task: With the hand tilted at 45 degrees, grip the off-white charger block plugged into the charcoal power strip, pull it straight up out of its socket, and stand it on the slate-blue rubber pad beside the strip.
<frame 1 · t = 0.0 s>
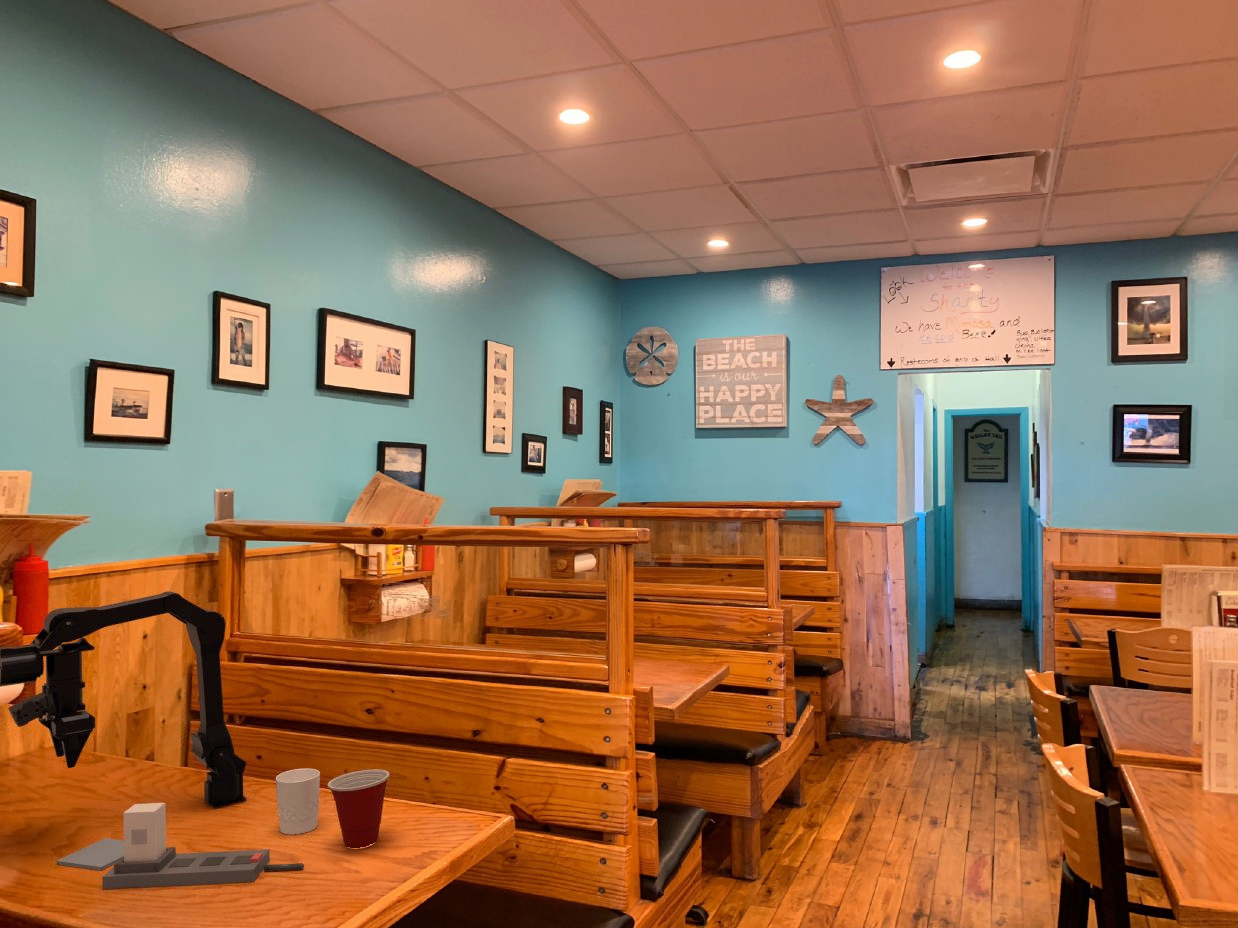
hand: (65, 761, 165), 15 cm above the table, tool pointing down, fingers open, 9 cm apart
white cup: (298, 828, 169), on the table
plastic cup: (360, 843, 162), on the table
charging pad: (103, 855, 159), on the table
power strip: (188, 874, 150), on the table
charger: (145, 864, 150), point 2 cm above the table, touching power strip
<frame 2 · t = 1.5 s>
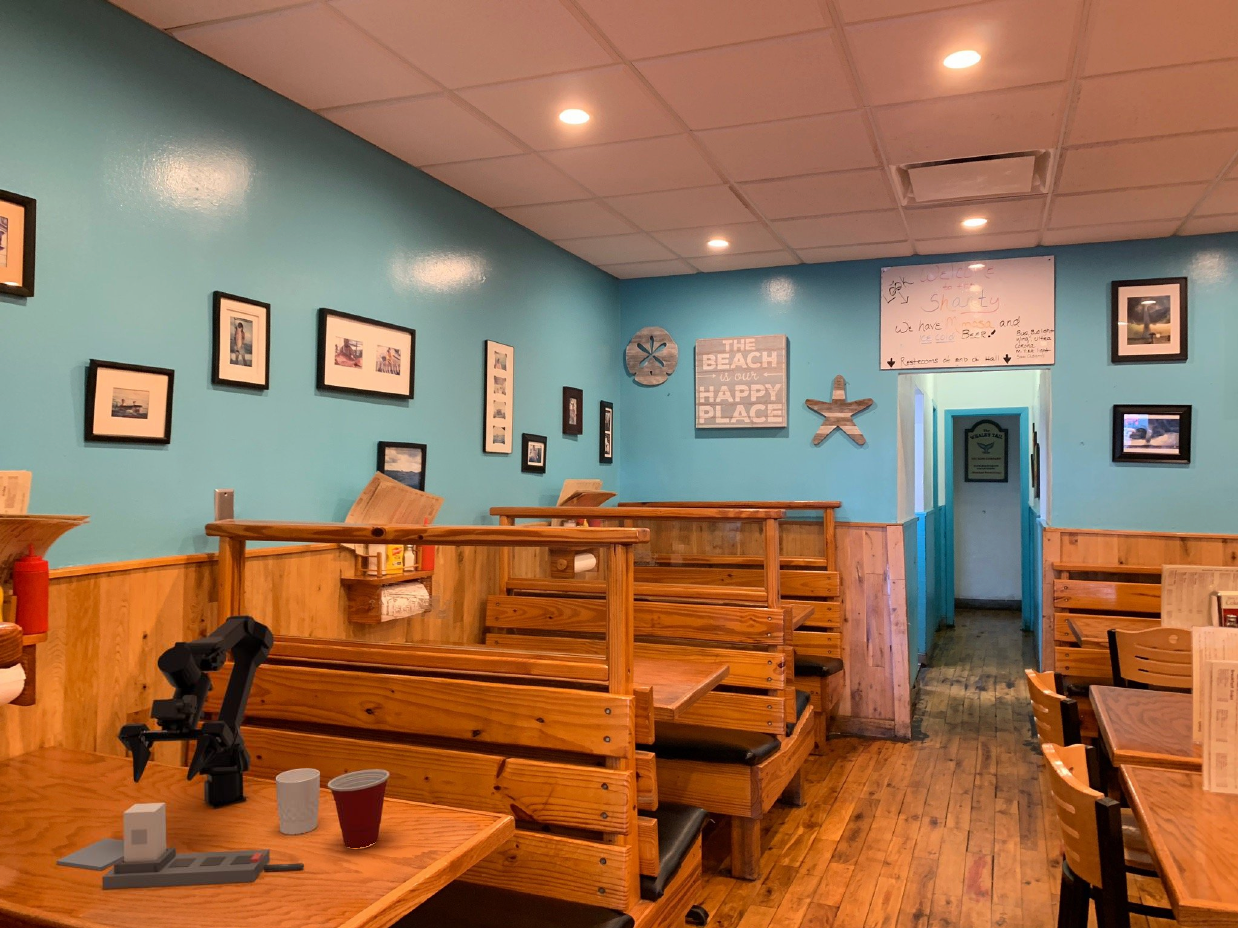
hand: (162, 780, 158), 13 cm above the table, tool tilted 45°, fingers open, 9 cm apart
nothing on the table moved.
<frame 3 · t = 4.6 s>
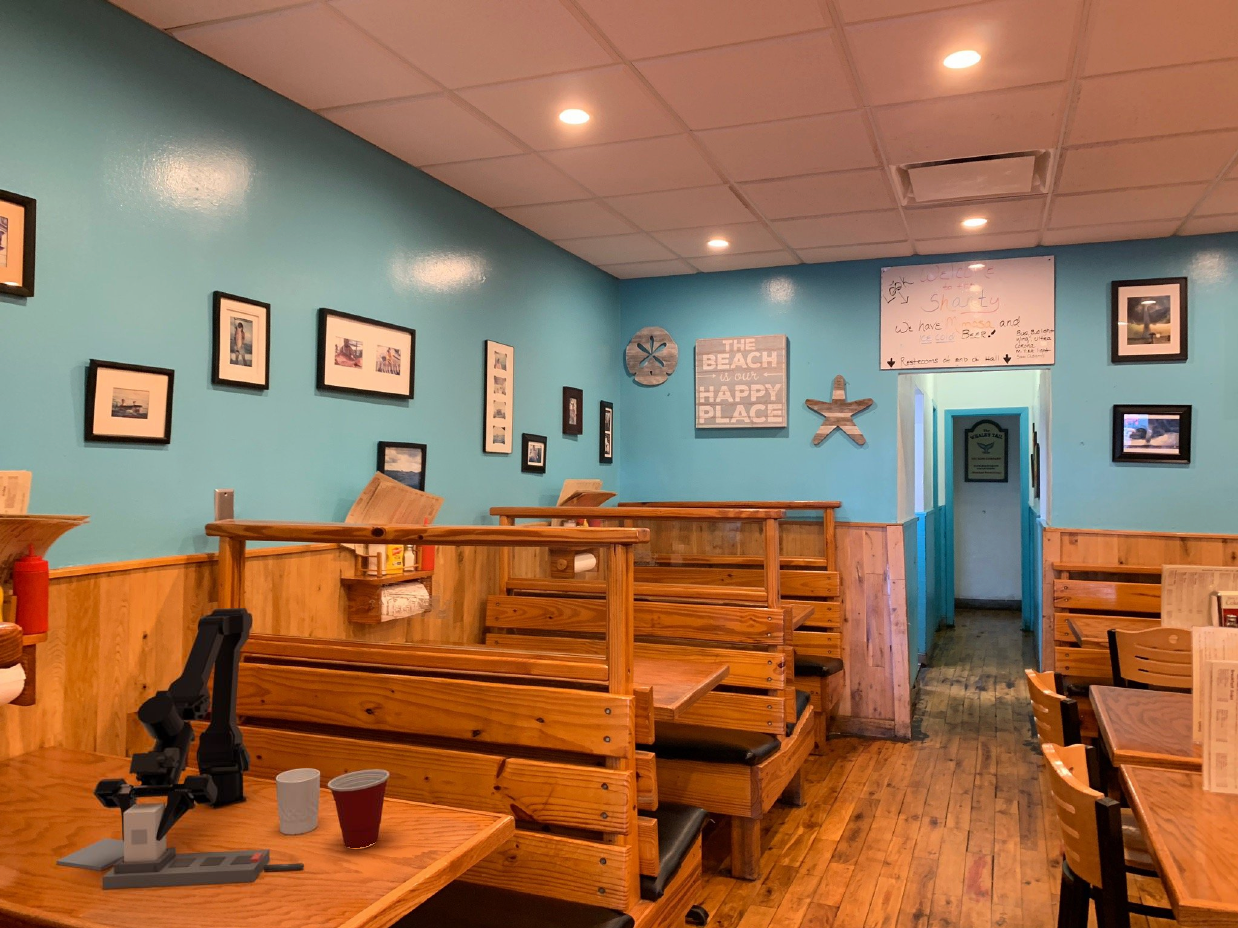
hand: (141, 840, 148), 7 cm above the table, tool tilted 45°, fingers closed on charger, 5 cm apart
charger: (145, 864, 150), point 2 cm above the table, touching gripper, power strip
everything else where it was.
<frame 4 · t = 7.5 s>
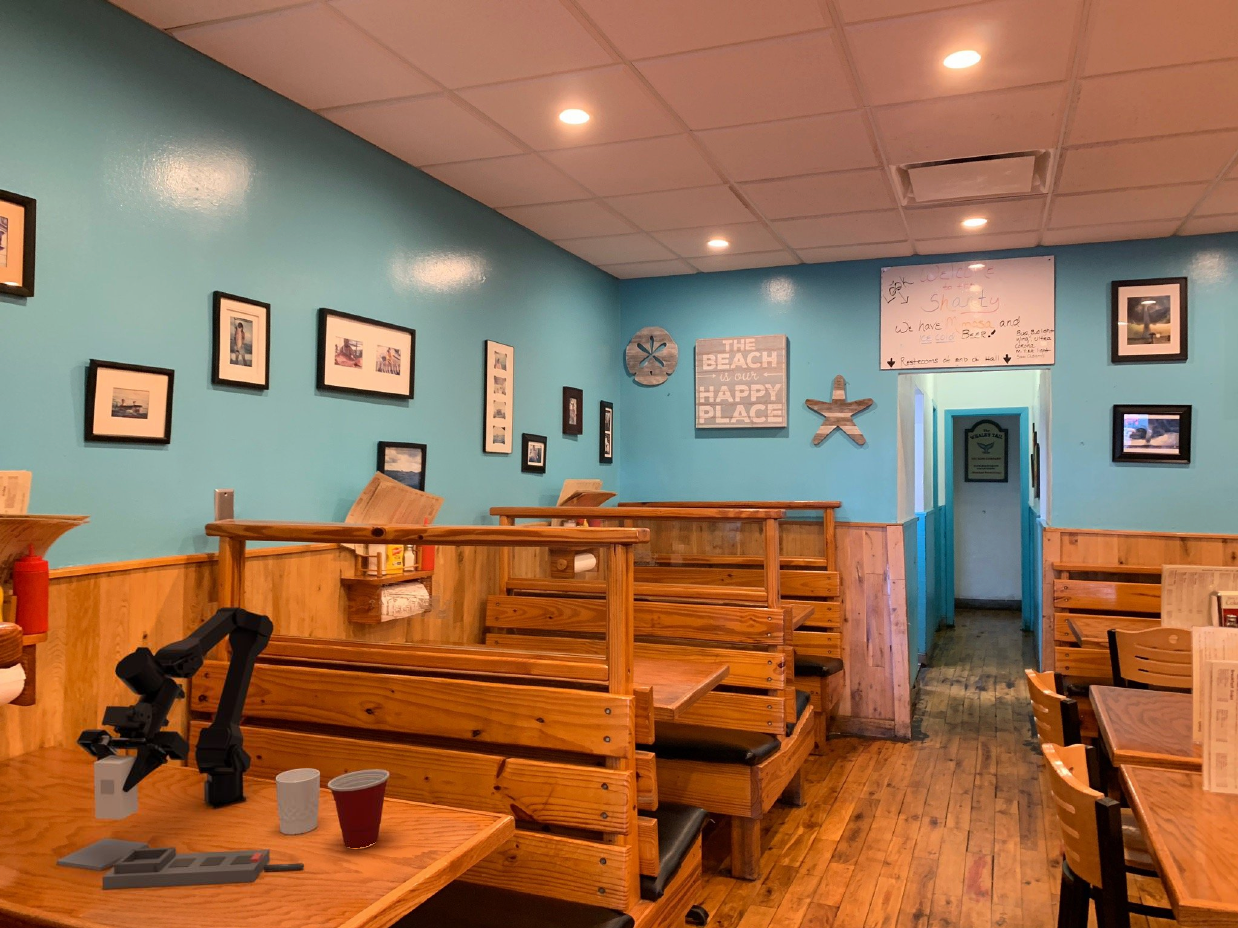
hand: (110, 790, 153), 13 cm above the table, tool tilted 45°, fingers closed on charger, 5 cm apart
charger: (116, 814, 154), point 9 cm above the table, touching gripper
everything else where it was.
when the fingers open (7 cm above the table, at t = 10.6 s): charger drops 2 cm, resting on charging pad.
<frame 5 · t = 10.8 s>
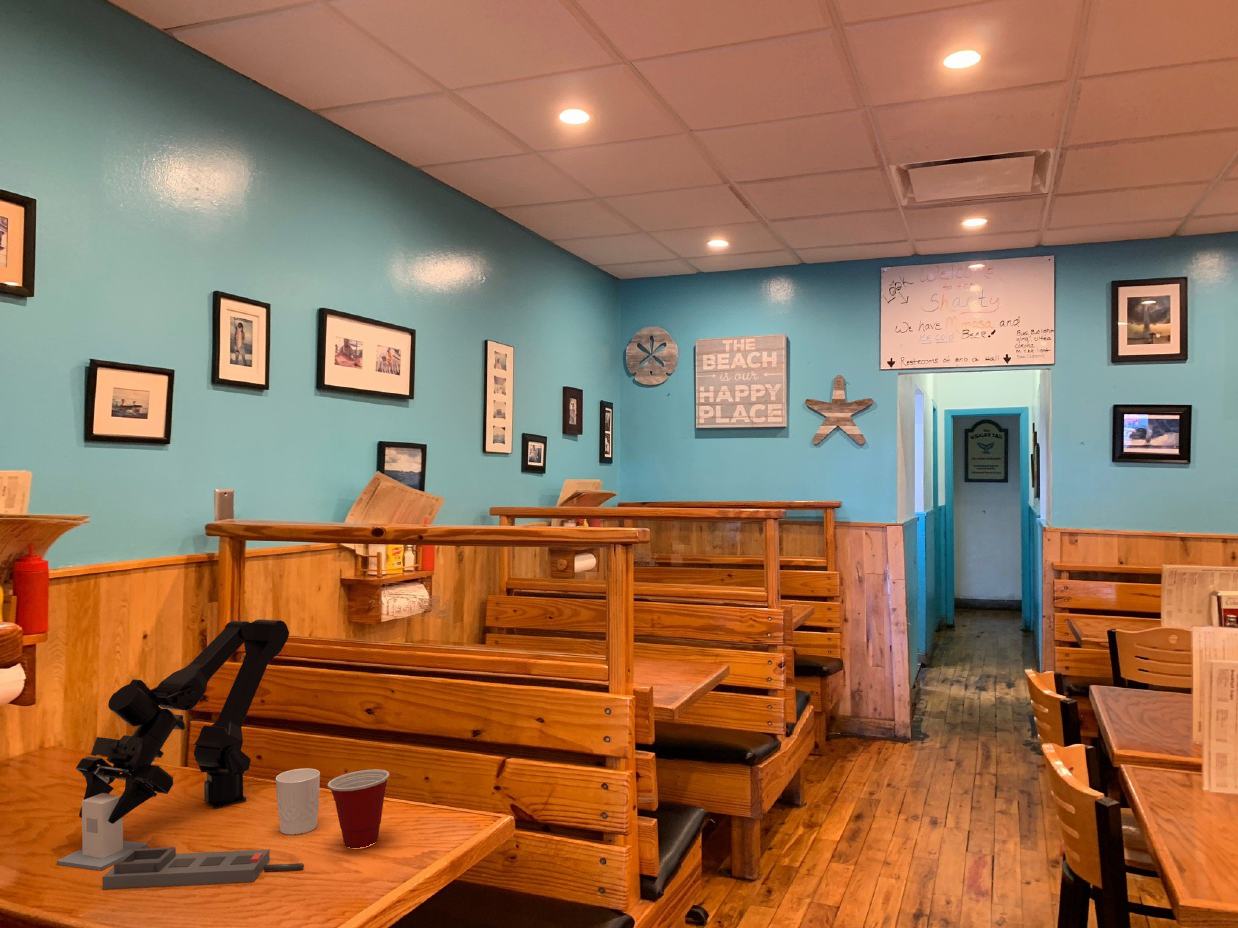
hand: (95, 819, 157), 7 cm above the table, tool tilted 45°, fingers open, 7 cm apart
charger: (102, 851, 159), point 1 cm above the table, touching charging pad
everything else where it was.
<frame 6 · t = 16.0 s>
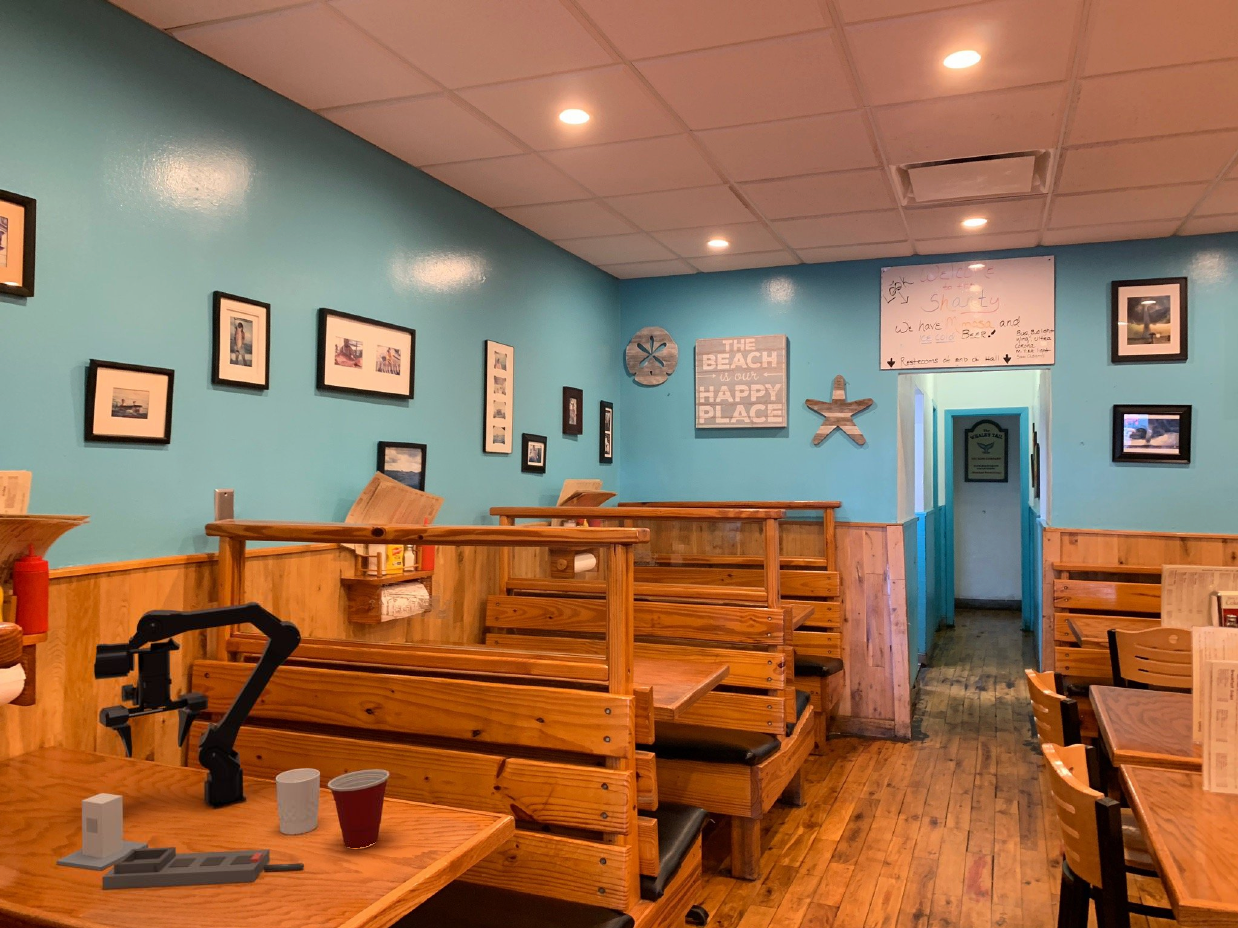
hand: (155, 751, 179), 12 cm above the table, tool pointing down, fingers open, 9 cm apart
nothing on the table moved.
at the end: charger 0.0 cm off-centre on the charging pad, point 0.6 cm above the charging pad's base; charger tilted 0°; charger touching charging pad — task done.
